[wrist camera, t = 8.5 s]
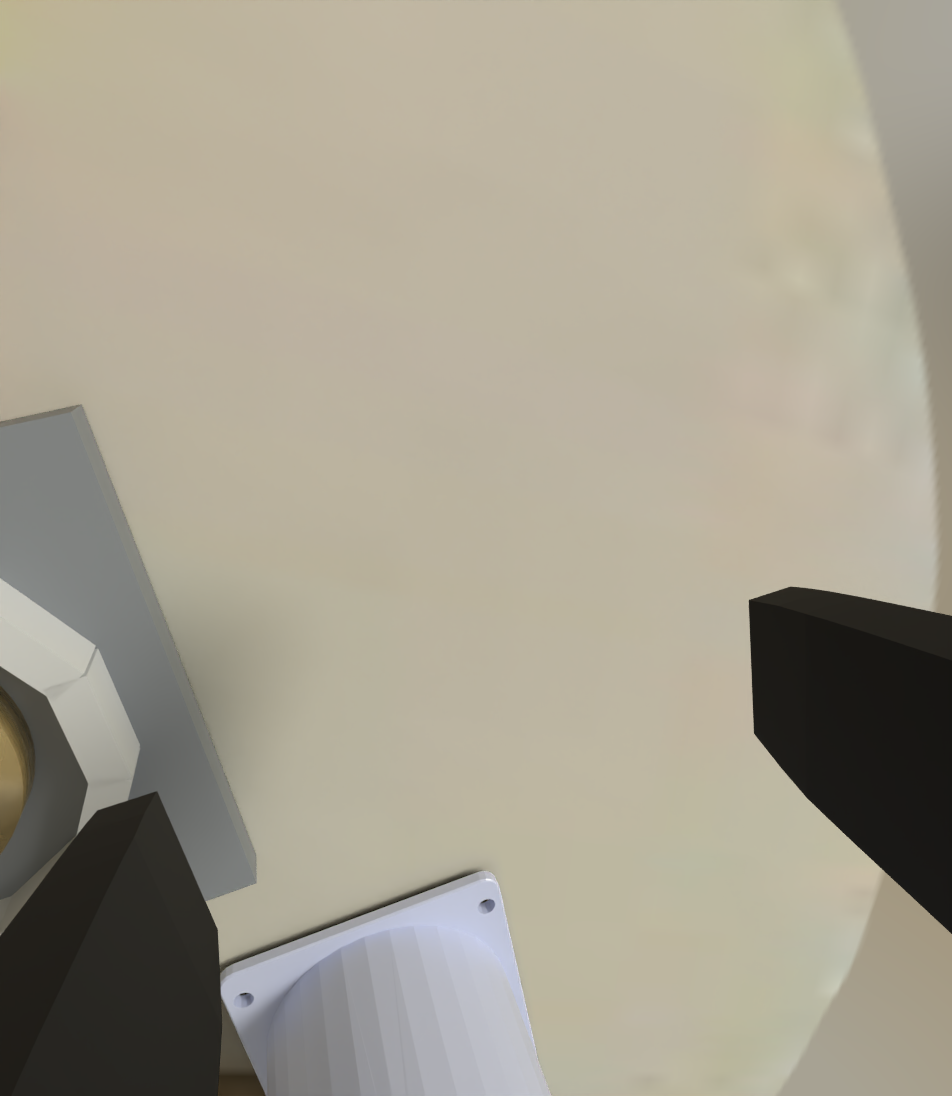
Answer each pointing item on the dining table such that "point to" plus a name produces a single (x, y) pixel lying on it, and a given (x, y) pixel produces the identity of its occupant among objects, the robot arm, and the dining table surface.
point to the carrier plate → (96, 668)
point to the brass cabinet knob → (14, 766)
